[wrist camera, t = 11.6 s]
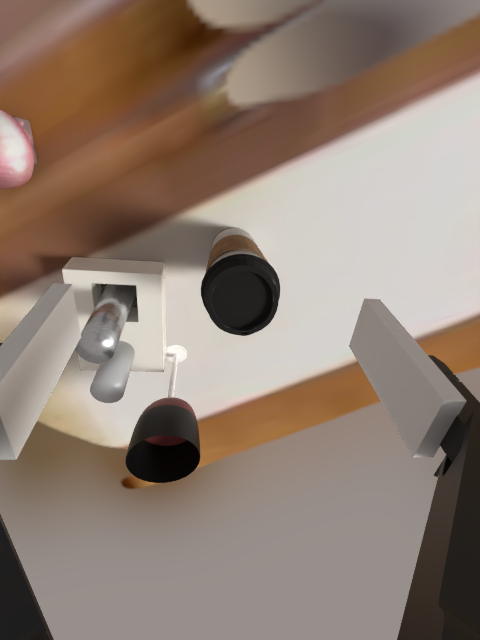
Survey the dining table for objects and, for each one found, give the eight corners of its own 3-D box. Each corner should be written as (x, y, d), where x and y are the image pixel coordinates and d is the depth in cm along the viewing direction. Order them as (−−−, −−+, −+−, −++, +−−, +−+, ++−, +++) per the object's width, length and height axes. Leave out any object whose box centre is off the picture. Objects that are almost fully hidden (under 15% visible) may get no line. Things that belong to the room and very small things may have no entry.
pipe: (105, 275, 48) (72, 332, 37) (135, 277, 49) (112, 334, 37) (108, 301, 51) (78, 363, 39) (137, 302, 51) (116, 363, 39)
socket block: (72, 256, 47) (34, 300, 37) (164, 262, 48) (153, 305, 38) (87, 353, 55) (60, 410, 45) (166, 355, 56) (157, 411, 46)
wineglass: (139, 354, 56) (110, 464, 40) (175, 321, 54) (160, 424, 37) (176, 380, 60) (165, 491, 43) (212, 350, 57) (215, 456, 40)
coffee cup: (206, 280, 50) (206, 342, 37) (198, 221, 45) (194, 268, 33) (265, 274, 50) (284, 333, 38) (263, 215, 46) (284, 259, 33)
